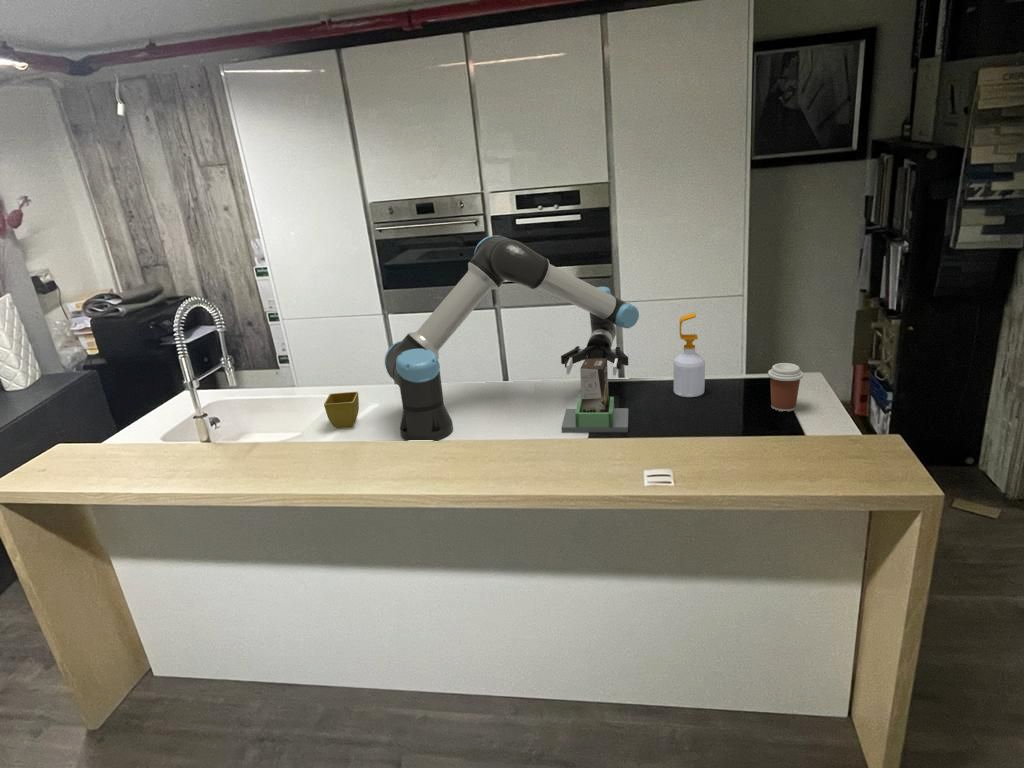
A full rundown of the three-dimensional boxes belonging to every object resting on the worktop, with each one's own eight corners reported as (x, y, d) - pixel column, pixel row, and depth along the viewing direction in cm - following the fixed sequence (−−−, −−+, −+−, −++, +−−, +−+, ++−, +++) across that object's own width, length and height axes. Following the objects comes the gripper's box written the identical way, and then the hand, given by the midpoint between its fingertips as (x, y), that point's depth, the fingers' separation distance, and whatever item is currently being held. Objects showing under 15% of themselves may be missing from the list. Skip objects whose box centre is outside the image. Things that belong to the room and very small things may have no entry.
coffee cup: (766, 412, 188) (769, 372, 183) (765, 400, 196) (767, 361, 191) (802, 414, 185) (805, 373, 181) (799, 401, 193) (802, 361, 189)
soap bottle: (705, 397, 201) (707, 317, 192) (673, 397, 203) (674, 318, 194) (703, 386, 209) (704, 309, 200) (673, 387, 211) (673, 310, 202)
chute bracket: (561, 432, 187) (560, 414, 185) (566, 413, 199) (565, 396, 197) (627, 432, 183) (627, 413, 181) (628, 413, 195) (628, 395, 193)
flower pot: (363, 418, 208) (358, 390, 205) (358, 429, 200) (353, 401, 197) (334, 420, 208) (329, 393, 205) (328, 432, 200) (323, 404, 197)
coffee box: (605, 424, 186) (603, 368, 180) (581, 423, 188) (579, 368, 182) (609, 410, 194) (608, 357, 188) (587, 410, 196) (585, 357, 190)
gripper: (639, 356, 214) (634, 383, 195) (561, 355, 220) (549, 381, 201) (639, 334, 211) (634, 359, 192) (560, 333, 217) (548, 357, 198)
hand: (590, 370), depth 196 cm, fingers open, 13 cm apart
